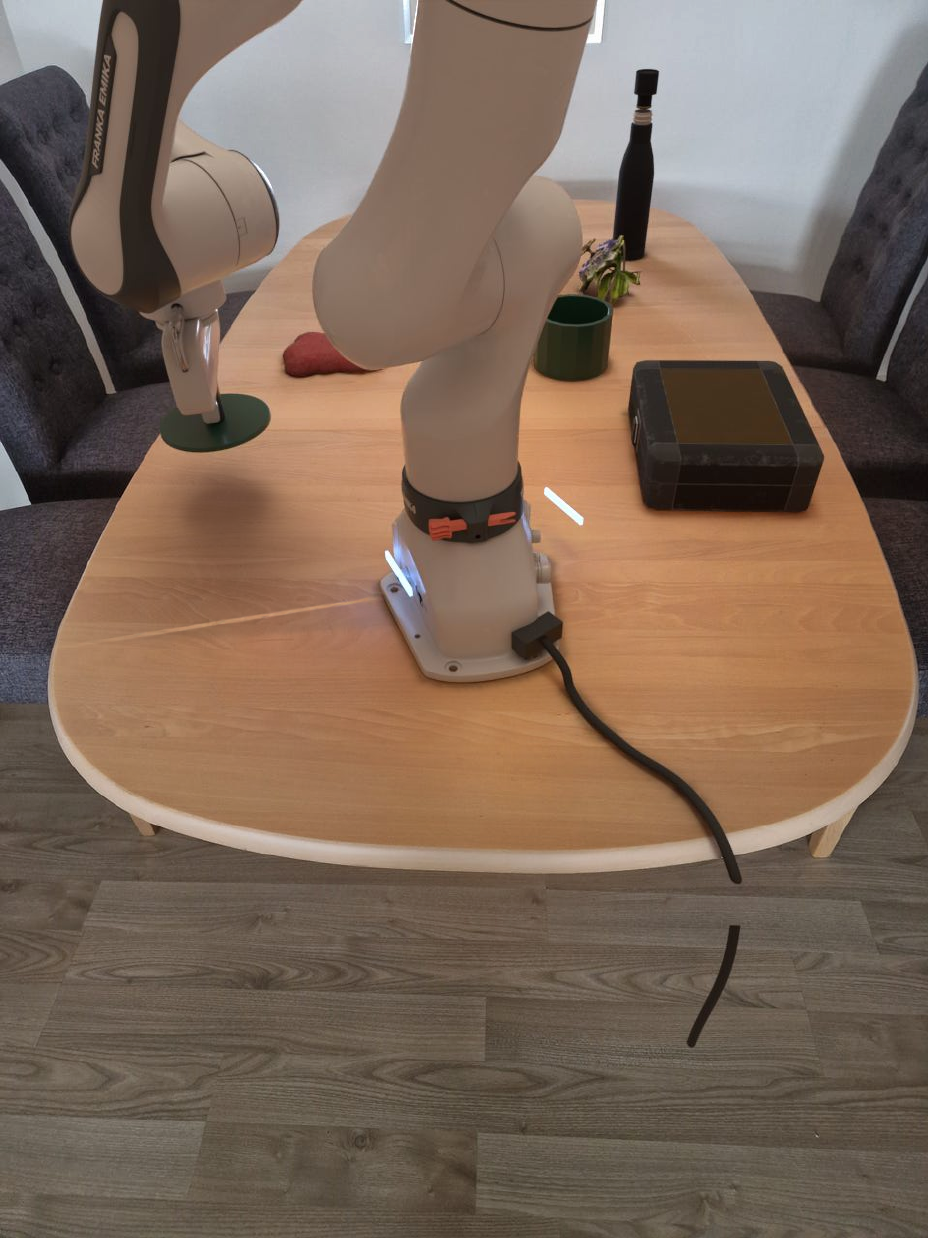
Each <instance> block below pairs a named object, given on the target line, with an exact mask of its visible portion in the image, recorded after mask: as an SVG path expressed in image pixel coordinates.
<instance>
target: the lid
mask: <svg viewBox="0 0 928 1238" xmlns="http://www.w3.org/2000/svg"><path fill="white" fill-rule="evenodd" d="M218 387H219V386H218ZM218 387H217V393H216V401H217V403H218V406H219V410H220V421H219V422H217V423H209V424H207V423H205V422H204V421H203V417H202V414H194V415H183V414H182V413H181V412H180V411H179V409H178V407H177V406H176V407H175V408H174V409H172V410H171V411H170V412H168V413H167V414H166V415H165V416H164V417H163V418H162V420H161V422H160V424H159V429H158V431H159V433H160V437H161V439H162V441H163V442H164V443H165V444H166V445H167V446H168V447H170V448H172V449H174V450H177V451H181V452H187V453H193V454H196V453H197V454H201V453H205V454H206V453H215V452H221V451H225V450H229V449H233V448H237V447H239V446H241V445H245V444H246V443H249V442H251V441H252V440H254V439H256V438H257V437H259V436H260V435H261V434H262V433H263V432H264V431H265V430H266V429H267V428H268V427H269V425H270V423H271V419H272V413H271V408H270V407H269V405H268V404H267V403H266V402H265V401H264V400H263V399H261V398H259V397H256V396H253V395H250V394H245V393H234V392H233V393H220V394H221V398H220V394H219V391H220V389H219V390H218Z"/></svg>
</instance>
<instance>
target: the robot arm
mask: <svg viewBox="0 0 928 1238" xmlns="http://www.w3.org/2000/svg"><path fill="white" fill-rule="evenodd" d="M302 2H304V0H102V2H101V9H100V15H99V21H98V22H99V23H98V29H97V30H98V31H97V39H96V46H95V56H94V64H93V75H92V83H91V92H90V100H89V101H90V102H89V111H88V120H87V128H86V129H87V130H86V140H85V149H84V157H83V164H82V170H81V175H80V178H79V181H78V183H77V187H76V189H75V193H74V195H73V198H72V202H71V206H70V211H69V217H68V241H69V245H70V249H71V253H72V256H73V258H74V261H75V263H76V265H77V267H78V270H79V271H80V273H81V274H82V276H83V277H84V279H85V280H86V282H87V283H88V284H89V286H90V287H92V289H94V290H95V291H96V292H97V293H98V294H100V295H101V296H103V297H104V298H106V299H108V301H111V302H113V303H115V304H117V305H119V306H121V307H124V308H126V309H129V310H132V311H134V312H135V311H136V312H138V313H139V314H140V315H141V316H142V317H143V318H145V319H146V320H147V319H148V320H151V321H154V322H155V325H156V328H157V329H159V330H161V331H162V335H161V350H162V351H161V352H162V357H163V360H164V365H165V369H166V373H167V376H168V380H169V384H170V387H171V391H172V394H173V397H174V402H175V404H176V408H177V407H178V409H179V411H180V412H181V413H182V414H183V415H194V414H202V417H203V421H204V422H205V423H207V424H209V423H217V422H219V421H220V410H219V406H218V403H217V401H216V393H217V387H218V390H219V394H220V398H221V394H222V393H221V391H220V388H219V380H218V376H219V374H218V373H219V358H220V343H221V341H220V340H221V325H220V316H219V315H220V314H219V309H220V308H221V307H222V306H223V305H224V304H225V303H226V300H227V294H226V290H225V287H224V286H225V285H224V282H223V278H226V277H228V276H230V275H231V274H233V273H236V272H238V271H240V270H243V269H245V268H248V267H250V266H252V265H254V264H257V263H258V262H260V261H261V260H263V259H264V258H266V257H268V256H269V255H271V254H272V253H273V252H274V249H276V245H277V242H278V239H279V236H280V235H279V234H280V226H281V225H280V211H279V206H278V202H277V197H276V194H275V192H274V189H273V187H272V184H271V183H270V180H269V178H268V177H267V176H266V174H265V173H264V171H263V170H262V169H261V167H260V166H259V165H258V164H257V163H256V162H254V161H253V160H252V159H251V158H250V157H248V156H246V155H245V154H243V153H242V152H240V151H238V150H235V149H226V148H224V147H221V146H220V145H218V144H215V143H214V142H212V141H210V140H208V139H207V138H205V137H204V136H202V135H200V134H199V133H197V132H196V131H194V130H193V129H192V128H191V127H189V126H188V125H187V123H186V122H184V120H183V118H182V117H181V115H180V114H181V111H182V108H183V106H184V104H185V102H186V100H187V98H188V97H189V95H190V94H191V92H192V90H193V89H194V87H195V86H196V85H197V84H198V83H199V82H200V80H201V79H202V78H203V77H204V76H205V75H207V73H208V72H209V71H210V70H212V68H214V67H215V66H216V65H218V63H219V62H221V61H222V60H223V59H225V58H226V57H228V56H229V55H230V54H232V53H233V52H234V51H236V50H237V49H239V48H240V47H242V46H243V45H245V44H246V43H248V42H249V41H251V40H252V39H254V38H256V37H258V36H260V35H261V34H263V33H264V32H266V31H268V30H269V29H271V28H273V27H274V26H276V25H277V24H279V23H281V22H282V21H283V20H285V19H286V18H287V17H288V16H290V15H291V14H292V13H293V12H294V11H295V10H296V9H297V8H298V7H299V6H300V5H301V4H302ZM597 4H598V0H417V2H416V11H415V16H414V17H415V18H414V23H413V24H414V25H413V31H412V32H413V34H412V40H411V45H410V53H409V59H408V61H409V62H408V67H407V74H406V81H405V87H404V91H403V96H402V100H401V104H400V106H399V107H400V108H399V111H398V115H397V118H396V120H395V124H394V127H393V130H392V133H391V134H390V138H389V141H388V143H387V145H386V148H385V151H384V152H383V155H382V157H381V159H380V162H379V164H378V166H377V168H376V170H375V172H374V175H373V177H372V179H371V181H370V183H369V185H368V187H367V189H366V191H365V193H364V194H363V196H362V198H361V200H360V202H359V203H358V205H357V206H356V208H355V210H354V211H353V212H352V215H351V216H350V218H349V219H348V220H347V221H346V223H344V225H343V227H342V228H341V229H340V230H339V231H338V232H337V233H336V235H335V236H334V237H333V238H332V239H331V240H330V241H329V242H328V243H327V244H326V245H325V246H324V247H323V248H322V250H321V251H320V252H319V254H318V256H317V258H316V261H315V264H314V268H313V274H312V282H311V283H312V285H311V287H312V288H311V293H312V302H313V309H314V312H315V316H316V319H317V321H318V324H319V326H320V328H321V330H322V333H324V334H325V335H326V337H327V338H328V340H329V341H330V343H331V344H332V345H333V346H334V347H335V349H336V350H337V351H338V352H339V353H340V354H341V355H343V356H344V357H345V358H346V359H348V360H349V361H350V362H352V363H354V364H355V365H357V366H359V367H361V368H363V369H367V370H372V371H378V370H384V369H389V368H397V367H401V366H405V365H410V364H415V363H416V364H417V363H420V364H419V366H418V367H417V368H416V370H415V371H414V372H413V373H412V375H411V376H410V378H409V380H407V384H405V385H406V386H405V388H404V390H403V392H402V395H401V400H400V408H399V414H400V426H401V437H402V449H403V458H404V465H403V467H402V470H401V482H400V485H401V486H400V487H401V495H402V500H403V505H404V507H403V509H402V510H401V512H400V513H399V514H398V515H397V517H395V519H394V521H393V522H392V523H391V537H392V549H393V557H392V555H391V553H390V552H389V550H385V551H384V553H385V559H386V561H387V562H388V564H389V566H390V567H391V569H392V571H390V572H389V573H388V574H386V575H385V576H383V577H382V579H381V580H380V582H379V587H380V591H381V594H382V597H383V599H384V601H385V604H386V605H387V607H388V609H389V611H390V613H391V615H392V617H393V619H394V621H395V623H396V624H397V626H398V628H399V631H400V632H401V635H402V637H403V638H404V640H405V642H406V644H407V646H408V648H409V649H410V652H411V654H412V655H413V658H414V660H415V662H416V663H417V665H418V667H419V668H420V671H421V673H422V674H423V675H424V677H427V678H429V679H432V680H436V681H439V682H440V681H441V682H446V683H447V682H448V683H475V682H476V683H479V682H487V681H493V680H499V679H500V680H501V679H504V678H510V677H514V676H519V675H521V674H524V673H528V672H530V671H534V670H536V669H538V668H540V667H542V666H544V665H546V664H548V663H550V662H551V661H552V660H553V661H554V663H555V664H556V665H557V667H558V669H559V671H560V673H561V676H562V681H563V686H564V689H565V692H566V694H567V695H568V697H569V698H570V700H571V702H572V703H573V705H574V707H575V708H576V709H577V710H578V712H579V713H580V714H581V715H582V716H583V718H584V719H585V720H586V721H587V722H588V723H589V724H590V725H591V726H592V727H593V728H594V729H595V730H596V731H598V732H599V733H600V734H601V735H602V736H603V737H605V738H606V739H607V740H608V741H609V742H610V743H612V744H613V745H614V746H615V747H616V748H618V750H619V751H621V752H622V753H624V754H625V755H627V756H628V757H629V758H631V760H633V761H635V762H637V763H638V764H640V765H642V766H644V767H645V768H646V769H648V770H650V771H651V772H654V773H655V774H657V775H658V776H659V777H662V778H663V779H664V780H666V781H668V782H669V783H670V784H671V785H672V786H673V787H674V788H676V790H678V791H679V792H680V793H681V794H682V795H683V796H684V797H685V798H686V799H687V800H688V802H689V803H690V804H691V805H692V806H693V807H694V808H695V810H696V811H697V813H698V814H699V815H700V816H701V818H702V819H703V820H704V822H705V824H706V825H707V827H708V829H709V831H710V832H711V834H712V836H713V838H714V840H715V842H716V845H717V847H718V849H719V852H720V855H721V857H722V860H723V863H724V865H725V869H726V871H727V875H728V877H729V879H730V881H731V882H732V883H733V884H735V885H740V884H742V883H743V878H742V874H741V871H740V868H739V864H738V862H737V859H736V857H735V853H734V851H733V848H732V846H731V844H730V841H729V839H728V836H727V835H726V832H725V831H724V829H723V827H722V825H721V824H720V822H719V820H718V819H717V817H716V815H715V814H714V812H713V811H712V810H711V809H710V807H709V806H708V805H707V804H706V802H705V801H704V800H703V799H702V798H701V797H700V795H699V794H698V793H697V792H696V791H695V790H694V789H693V788H692V787H691V786H690V785H689V784H688V783H687V782H686V781H685V780H683V778H681V776H679V775H678V774H676V773H675V772H673V771H672V770H671V769H669V768H668V767H666V766H665V765H663V764H661V763H659V762H658V761H656V760H655V759H653V758H651V757H649V756H647V755H646V754H645V753H642V752H641V751H639V749H636V748H635V747H633V746H632V745H630V743H628V742H627V741H626V740H624V739H623V737H621V736H620V735H619V734H617V733H616V732H615V731H614V730H613V729H612V728H610V727H609V726H608V725H607V724H606V723H605V722H604V721H602V720H601V719H600V718H599V717H598V716H597V714H595V712H593V711H592V710H591V709H590V708H589V706H588V705H587V704H586V703H585V701H584V700H583V698H582V696H581V695H580V693H579V692H578V690H577V688H576V686H575V684H574V678H573V674H572V671H571V668H570V666H569V665H568V662H567V660H566V659H565V657H564V656H563V655H562V653H561V652H560V643H559V641H560V640H561V639H562V638H563V627H564V622H563V621H562V620H561V619H560V618H558V617H557V616H556V611H555V604H554V603H555V601H554V595H553V586H552V566H551V565H552V564H551V562H550V561H549V559H548V556H546V555H545V554H544V553H541V552H540V551H539V552H538V551H534V549H533V544H539V543H541V542H542V541H541V539H542V538H541V537H542V535H541V534H542V533H541V530H540V529H532V528H531V512H532V510H531V509H532V504H531V503H530V502H528V501H527V500H526V499H524V494H525V488H524V477H523V473H522V466H521V463H520V461H519V444H520V443H519V441H520V421H521V410H522V409H521V407H522V401H523V400H522V399H523V395H524V389H525V386H526V382H527V377H528V375H529V371H530V368H531V364H532V362H533V355H534V352H535V349H536V346H537V344H538V341H539V338H540V335H541V333H542V330H543V327H544V325H545V322H546V320H547V318H548V315H549V313H550V311H551V309H552V307H553V305H554V303H555V301H556V299H557V298H558V296H559V295H561V293H562V291H563V290H564V288H565V287H566V286H567V284H568V283H569V281H570V280H571V279H572V277H573V276H574V274H575V273H576V271H577V269H578V267H579V264H580V261H581V258H582V256H581V253H582V248H583V244H584V243H583V241H584V237H583V228H582V223H581V219H580V216H579V213H578V210H577V207H576V206H575V203H574V202H573V200H572V198H571V196H570V195H569V194H568V192H567V191H566V190H565V189H564V188H563V187H562V186H561V185H560V184H559V183H558V182H557V181H555V180H553V179H552V178H549V177H547V176H543V175H538V174H536V173H537V172H538V171H539V169H541V167H543V165H544V164H545V163H546V162H547V160H548V159H549V158H550V156H551V154H552V153H553V152H554V149H555V148H556V145H557V144H558V142H559V140H560V138H561V135H562V133H563V130H564V126H565V122H566V119H567V116H568V111H569V108H570V104H571V100H572V96H573V94H574V89H575V85H576V82H577V78H578V74H579V71H580V67H581V63H582V59H583V57H584V52H585V48H586V46H587V42H588V38H589V35H590V30H591V26H592V23H593V20H594V16H595V12H596V8H597ZM535 174H536V175H535ZM544 496H546V498H548V499H549V500H550V501H552V502H553V503H554V504H555V505H556V506H557V507H558V508H560V509H561V510H562V511H563V512H564V513H565V514H567V515H568V516H569V517H570V518H571V519H573V520H574V521H575V523H577V524H578V525H579V526H582V525H584V524H583V523H584V517H583V516H581V515H580V513H578V512H577V511H576V510H574V508H572V507H571V506H569V504H567V503H566V502H565V501H564V500H563V499H561V498H560V497H559V496H558V495H557V494H556V493H555V492H553V491H552V490H551V489H550V488H549V487H545V488H544ZM393 591H394V592H393ZM395 591H396V592H395ZM740 931H741V925H737V924H729V926H728V933H727V940H726V944H725V950H724V953H723V956H722V957H723V958H722V961H721V964H720V967H719V970H718V974H717V976H716V979H715V981H714V983H713V986H712V987H711V990H710V991H709V994H708V995H707V998H706V1000H705V1001H704V1003H703V1005H702V1007H701V1009H700V1010H699V1012H698V1014H697V1017H696V1018H695V1021H694V1022H693V1025H692V1027H691V1029H690V1030H689V1031H690V1032H689V1035H688V1037H687V1039H686V1045H687V1047H689V1048H691V1049H692V1048H695V1047H696V1045H697V1042H698V1039H699V1037H700V1035H701V1033H702V1031H703V1029H704V1027H705V1025H706V1023H707V1021H708V1019H709V1017H710V1015H711V1014H712V1012H713V1010H715V1009H714V1008H715V1006H716V1005H717V1003H718V1001H719V999H720V997H721V996H722V993H723V991H724V989H725V987H726V985H727V983H728V980H729V978H730V975H731V972H732V969H733V965H734V962H735V958H736V955H737V949H738V945H739V939H740Z"/></svg>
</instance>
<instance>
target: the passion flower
mask: <svg viewBox="0 0 928 1238" xmlns="http://www.w3.org/2000/svg"><path fill="white" fill-rule="evenodd" d="M623 238H624V236H623V235H621V236H619V238H618V240H615V239H614V238H613V237H612V238H611V239H610V238H609V239H608V240H605V241H603V243H598V245H599V246H598V248H596V249H595V250H594V251H593V250H592V249H591V247H592V245H593V244H595V242H596V241H597V239H596V237H594V238H592V239H590V240H589V241H588V242H587V243H586V244H584V246H582V253H581V257H582V256H583V255H585V254H586V253H589V254H590V255H589V256H590V257H589V258H588V259H586V261H585V262H584V263H583V264H582V265H581V269H580V270H579V271H578V275H577V276H578V277H579V279H580V281H581V282H582V283H581V284H580V286H579V288H578V291H579V292H580V291H582V292H586V291H587V290H588V289H589V287H590V285H591V283H592V281H593V280H594V287H596V288H598V289H597V298H600V299H602V300H604V301H606V300H607V298H608V297H609V292H610V305H611V304H614V303H616V302H617V301H618V300H619V299H622V298H624V297H625V295H626V294H627V295H630V293H629V288H630V285H629V283H631V284H633V285H636V286H641V281H640V278H641V273H642V272H643V271H642V270H636V271H629V270H626V260H625V251H626V249H625V243H624V240H623ZM620 247H621V248H620ZM621 250H622V251H623V256H621V253H622V252H621ZM622 259H623V260H622ZM612 268H613V269H612ZM621 269H622V270H621ZM607 270H609V271H610V272H607V273H606V271H607ZM611 283H612V288H611ZM610 288H611V290H610Z"/></svg>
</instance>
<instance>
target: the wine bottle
mask: <svg viewBox="0 0 928 1238" xmlns="http://www.w3.org/2000/svg"><path fill="white" fill-rule="evenodd" d="M659 76H660V71H659V70H658V69H656V68H655V69H654V68H641V69H638V70H636V71H635V78H634V79H635V80H634V90H633V94H634V95H636V96H637V99H636V105H635V107H636V109H635V110H634V113H633V114H632V116H633V118H632V121H633V122H631V124H630V130H629V131H630V133H629V140H628V143H627V146H626V148H625V151H624V153H623V155H622V159H621V163H620V166H619V171H618V180H617V190H616V200H615V211H614V221H613V229H612V230H613V231H612V239H613V238H614V239H615V240H618V238H619V236H621V235H623V236H624V238H623V240H624V243H625V249H626V251H625V261H636V260H640V259H642V258H643V257H644V256H645V253H646V244H647V236H648V227H649V220H650V214H651V213H650V212H651V204H652V196H653V188H654V180H655V157H654V152H653V145H652V133H653V123H652V121H653V118H652V117H653V116H654V114H653V111H652V109H651V108H652V103H653V102H652V101H653V96H655V95H657V94H658V86H659ZM620 248H621V247H620ZM621 252H622V253H621V256H623V251H622V250H621ZM622 261H623V259H622Z"/></svg>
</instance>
